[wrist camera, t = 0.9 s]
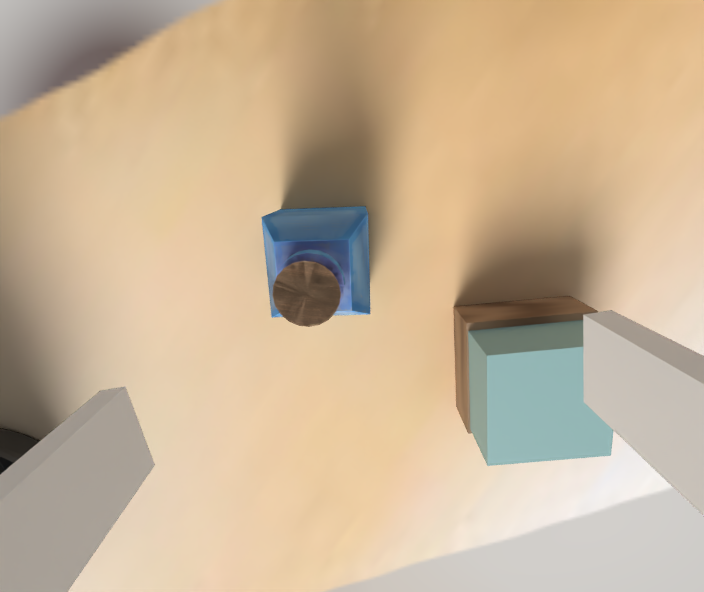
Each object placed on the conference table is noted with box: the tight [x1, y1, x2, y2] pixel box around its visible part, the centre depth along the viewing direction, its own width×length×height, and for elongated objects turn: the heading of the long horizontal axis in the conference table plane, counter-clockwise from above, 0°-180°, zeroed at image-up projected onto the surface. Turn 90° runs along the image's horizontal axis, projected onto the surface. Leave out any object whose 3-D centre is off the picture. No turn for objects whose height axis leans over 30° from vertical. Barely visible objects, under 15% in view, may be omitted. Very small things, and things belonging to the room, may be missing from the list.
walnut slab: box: [454, 296, 598, 433], centre depth 30 cm, size 9×9×4 cm
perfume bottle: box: [262, 206, 370, 327], centre depth 24 cm, size 6×6×12 cm
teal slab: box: [468, 320, 613, 466], centre depth 26 cm, size 8×8×4 cm
